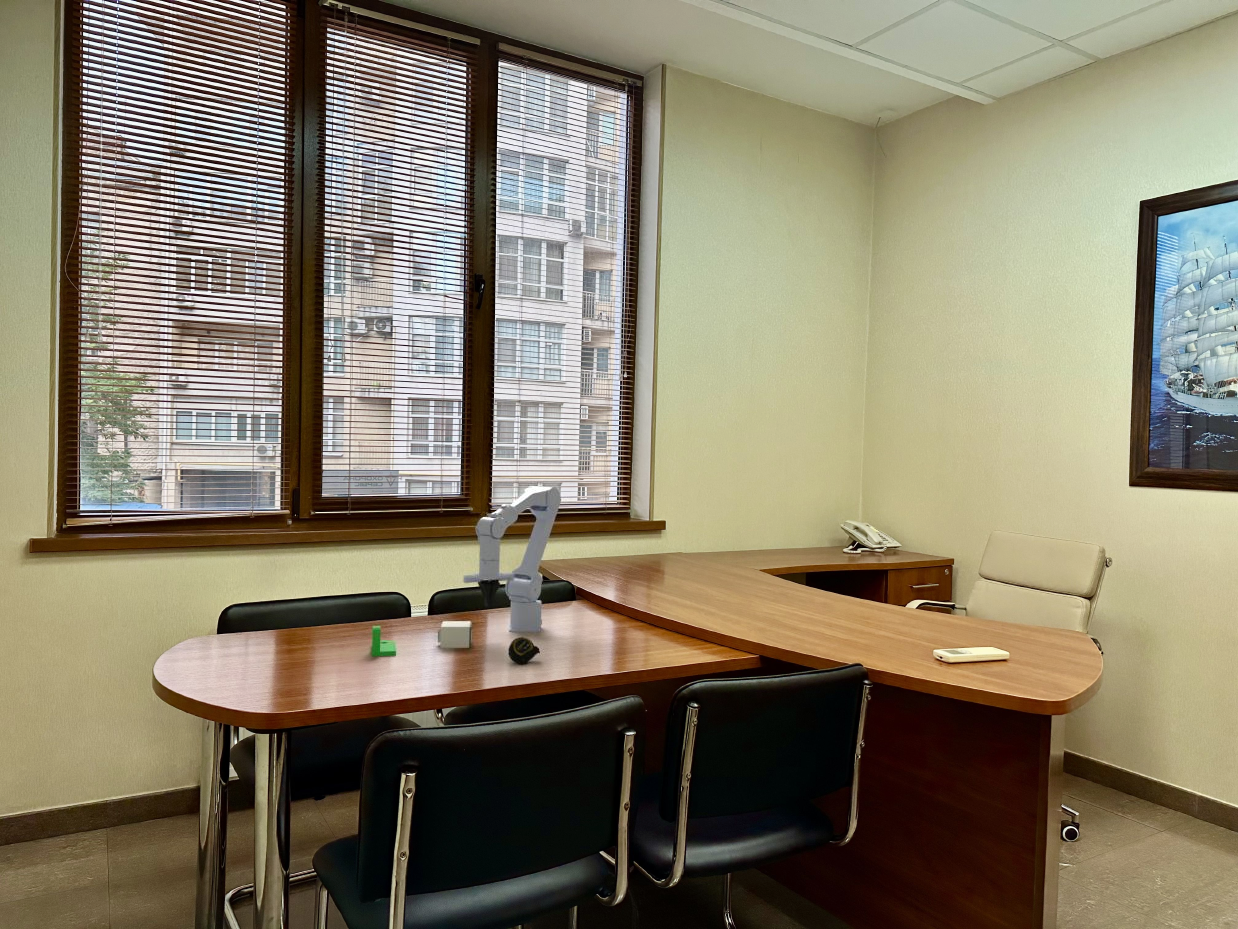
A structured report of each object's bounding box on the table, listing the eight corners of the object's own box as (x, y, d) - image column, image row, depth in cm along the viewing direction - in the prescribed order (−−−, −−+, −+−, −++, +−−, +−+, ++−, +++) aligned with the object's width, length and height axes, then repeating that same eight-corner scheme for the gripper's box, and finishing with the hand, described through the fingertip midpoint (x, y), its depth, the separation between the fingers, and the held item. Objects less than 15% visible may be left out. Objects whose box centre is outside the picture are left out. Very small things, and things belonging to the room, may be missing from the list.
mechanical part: (395, 658, 225) (396, 628, 225) (371, 659, 224) (372, 628, 223) (395, 647, 237) (395, 618, 236) (372, 648, 235) (372, 618, 235)
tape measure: (520, 671, 219) (523, 664, 217) (501, 653, 221) (504, 645, 218) (538, 656, 224) (542, 649, 221) (519, 638, 226) (523, 630, 223)
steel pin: (471, 640, 241) (471, 628, 240) (470, 644, 237) (471, 630, 237) (438, 640, 239) (438, 628, 239) (437, 644, 236) (437, 630, 236)
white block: (471, 643, 242) (472, 621, 242) (470, 649, 235) (470, 626, 235) (442, 643, 241) (443, 621, 241) (440, 649, 234) (441, 626, 234)
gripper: (508, 556, 254) (507, 602, 254) (460, 558, 247) (459, 605, 248) (517, 559, 248) (516, 607, 248) (468, 562, 241) (467, 610, 241)
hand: (488, 606), depth 247 cm, fingers closed
